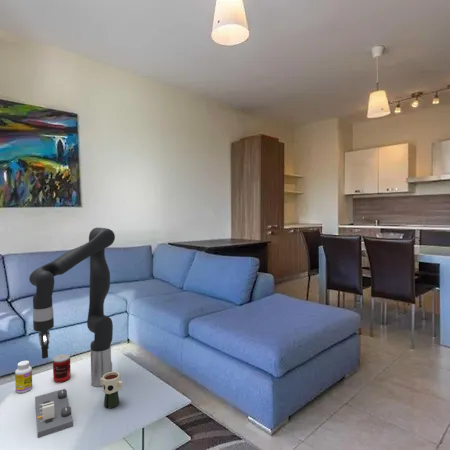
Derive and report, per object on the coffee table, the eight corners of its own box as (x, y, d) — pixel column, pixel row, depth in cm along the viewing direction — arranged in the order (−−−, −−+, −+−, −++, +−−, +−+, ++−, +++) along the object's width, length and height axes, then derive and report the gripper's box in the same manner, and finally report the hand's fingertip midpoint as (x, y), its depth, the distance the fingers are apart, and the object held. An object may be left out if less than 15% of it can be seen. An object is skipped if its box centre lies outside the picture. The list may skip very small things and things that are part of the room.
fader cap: (54, 413, 130) (53, 400, 130) (54, 417, 128) (54, 404, 127) (42, 416, 128) (41, 404, 128) (42, 420, 126) (42, 408, 125)
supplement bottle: (24, 394, 147) (23, 367, 146) (12, 392, 148) (11, 365, 147) (35, 386, 153) (34, 360, 153) (24, 384, 155) (23, 358, 154)
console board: (65, 392, 148) (65, 383, 148) (73, 425, 126) (72, 415, 126) (35, 401, 142) (34, 391, 142) (37, 437, 120) (37, 426, 120)
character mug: (95, 407, 138) (95, 377, 137) (106, 397, 145) (105, 369, 144) (117, 411, 135) (117, 382, 134) (127, 401, 142) (126, 373, 141)
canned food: (65, 372, 166) (64, 352, 165) (73, 377, 161) (73, 356, 160) (50, 379, 159) (49, 357, 159) (58, 384, 155) (57, 362, 154)
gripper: (54, 320, 131) (56, 361, 132) (52, 311, 142) (53, 349, 144) (33, 324, 127) (35, 366, 128) (32, 314, 138) (34, 353, 140)
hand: (45, 357), depth 136 cm, fingers closed
